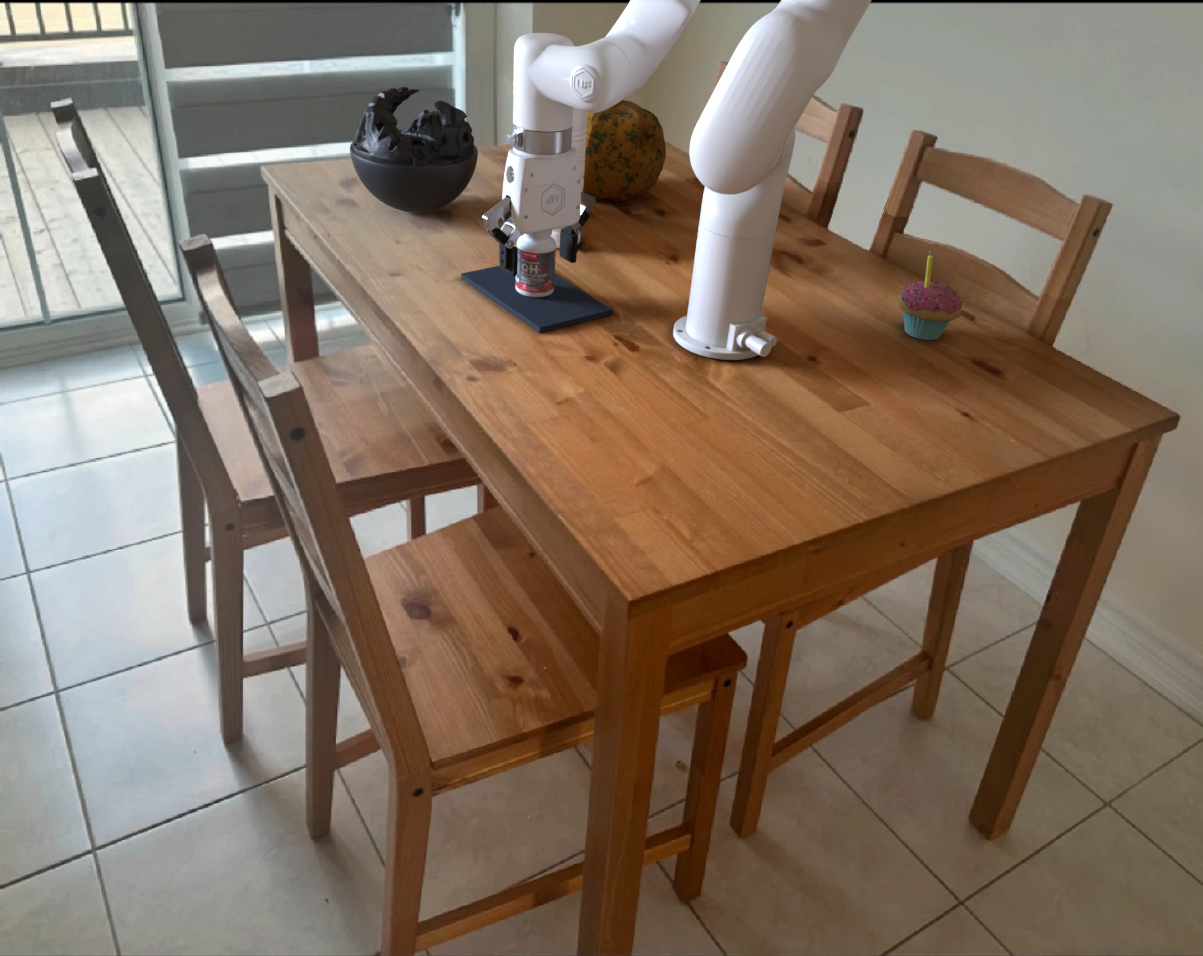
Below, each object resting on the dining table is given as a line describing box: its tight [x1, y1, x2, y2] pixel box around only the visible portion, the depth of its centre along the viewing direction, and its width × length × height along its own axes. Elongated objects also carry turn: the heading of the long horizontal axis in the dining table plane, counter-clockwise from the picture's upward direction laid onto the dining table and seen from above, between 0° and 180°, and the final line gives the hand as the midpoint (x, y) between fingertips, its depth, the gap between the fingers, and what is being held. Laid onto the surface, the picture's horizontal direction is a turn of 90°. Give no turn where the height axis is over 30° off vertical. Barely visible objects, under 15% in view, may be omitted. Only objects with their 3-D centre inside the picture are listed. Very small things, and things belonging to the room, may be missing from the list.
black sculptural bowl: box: [349, 86, 479, 214], centre depth 164 cm, size 20×20×19 cm
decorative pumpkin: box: [582, 99, 667, 202], centre depth 178 cm, size 20×21×20 cm
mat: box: [460, 265, 614, 334], centre depth 144 cm, size 20×12×1 cm, turn 37°
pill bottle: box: [515, 230, 557, 297], centre depth 141 cm, size 5×5×10 cm
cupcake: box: [897, 250, 964, 341], centre depth 140 cm, size 9×8×12 cm
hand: (538, 266), depth 141 cm, fingers open, 9 cm apart
